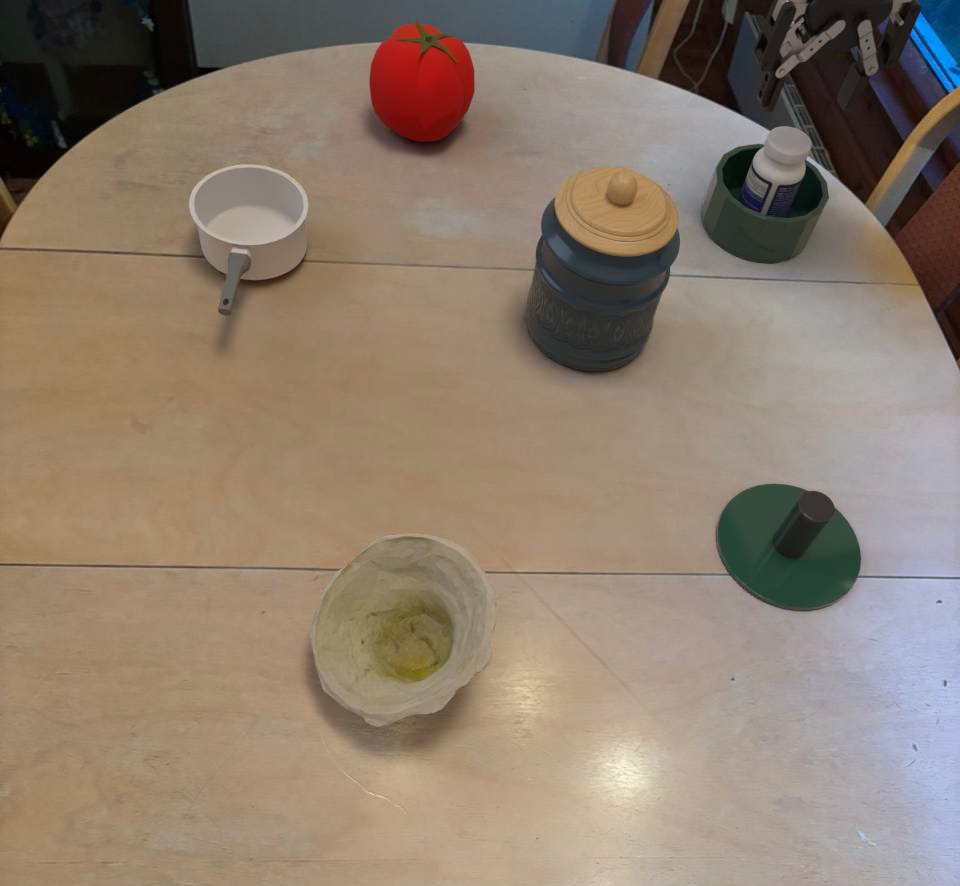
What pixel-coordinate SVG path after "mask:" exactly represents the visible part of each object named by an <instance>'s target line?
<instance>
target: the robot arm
mask: <svg viewBox="0 0 960 886" xmlns="http://www.w3.org/2000/svg"><path fill="white" fill-rule="evenodd" d="M921 11H922V6H921V5H920V2H919V0H772V3H771V5H770V7H769V11H768V12H767V15H766V17H765V20H764V22H763V24H762V26H761V28H760V29H761V30H760V31H759V34H758V36H757V39H756V41H755V44H754V46H753V49H752V55H753V56H754V59H755V61H756V62H757V64H758V65H757V66H759V69H760V70H761V72H764V73H763V76H762V79H761V80H760V84H759V86H758V90H757V92H756V98H757V100H758V102H759V105H760V106H761V109H762V111H763V113H765V114H767V113H773V112H774V110H775V108H776V106H777V103H778V100H779V98H780V95H781V93H782V90H783V87H784V85H785V83H786V81H787V77H786V75H787V74H788V73H790V72H791V71H792V69H794V68H795V67H796V66H797V65H798V64H800V63H805V62H807V61H808V60H810V58H812V57H813V55H815V54H816V53H817V52H819V53H829V52H831V51H834V50H836V51H839V52H843V53H844V52H845V53H846V52H850V51H851V49H853V48H854V52H855V55H856V59H857V61H855V62H852V63H851V65H850V67H849V69H848V71H847V73H846V75H845V77H844V80H843V82H842V84H841V87H840V89H839V91H838V93H837V96H836V101H837V103H838V105H839V107H840V109H841V110H842V111H851V110H852V109H853V107H854V105H857V103H858V102H859V101H860V100H861V97H862V95H863V94H864V92H865V89H866V88H867V85H868V83H869V81H870V79H871V77H872V76H873V75H875V74H876V73H877V72H878V71H879V70H880V69H884V68H886V69H887V70H891V69H894V68H895V67H896V66H897V65H898V64H899V61H900V59H901V56H902V54H903V52H904V50H905V47H906V45H907V43H908V40H909V38H910V36H911V34H912V31H913V29H914V27H915V25H916V22H917V20H918V18H919V15H921ZM800 16H802V17H801V18H800V19H799V20H798V21H797V19H798V18H799V17H800ZM887 19H888V21H887V23H886V25H885V27H884V31H883V33H882V35H881V37H880V40H879V42H878V45H877V46H876V42H875V38H874V31H875V30H876V29H877V28H878V27H879V26H880V25H881V24H883V22H884V21H885V20H887ZM796 21H797V22H796ZM806 34H807V38H808V40H807V41H806V42H805V43H803V41H802V38H803V37H804V35H806Z"/></svg>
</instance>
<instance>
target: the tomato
mask: <svg viewBox="0 0 960 886" xmlns="http://www.w3.org/2000/svg"><path fill="white" fill-rule="evenodd" d="M414 20H415V23H407V24H404V25H400V26H398V27H396V28H395V29H394V31H393V33H392V34H391V35H390V36H389V38H388V39H387V40H383V41H381V43H380V45H378V47H377V48H376V50H375V53H374V55H373V58H372V61H371V63H370V70H369V78H368V79H369V81H368V82H369V83H368V85H369V93H370V101H371V106H372V109H373V110H374V113H375V115H376V116H377V117H378V118H379V120H380V121H381V122H382V123H383V125H384V126H385V127H387V128H388V129H390V130H391V131H392V132H394V133H396V134H397V135H399V136H400V137H403V138H406V139H409V140H412V141H414V142H436V141H438V140H442V139H444V138H446V137H447V136H449V134H450V133H451V132H453V131H454V130H455V129H456V127H457V126H458V125H459V123H461V121H462V119H463V118H464V117H465V116H466V114H467V113H468V111H469V108H470V106H471V103H472V100H473V98H474V96H475V92H476V91H475V90H476V89H475V88H476V87H475V84H476V83H475V79H476V78H475V67H474V63H473V61H472V56H471V53H470V50H469V49H468V48H467V46H466V45H465V42H464V41H463V39H461V38H457V37H454V35H448V34H445V33H443V32H441V31H440V30H439V29H438V28H436V27H435V26H433V25H431V24H421V23H420V22H419V21H418V20H417V18H414Z"/></svg>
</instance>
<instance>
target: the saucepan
mask: <svg viewBox="0 0 960 886" xmlns="http://www.w3.org/2000/svg"><path fill="white" fill-rule="evenodd" d="M188 207H189V213H190V215H191V218H192V219H193V222H195V223H196V227H197V232H198V237H199V243H200V247H201V252H202V254H203V256H204V258H205V259H206V261H208V263H209V264H210V265H211V266H212V267H213V268H214V269H216V270H217V271H219V272H220V273H223V274H225V275H226V276H225V280H224V284H223V288H222V291H221V295H220V299H219V303H218V308H217V311H218V314H220V315H221V316H224V317H227V316H231V315H232V313H233V308H234V305H235V300H236V297H237V294H238V290H239V286H240V282H241V280H245V281H249V280H250V281H262V280H263V281H264V280H269V279H274V278H277V277H279V276H283V275H285V274H286V273H289V272H291V270H294V269H295V268H296V267H297V266H298V265H299V264H300V263H301V262H302V261H303V259H304V257H305V255H306V252H307V250H308V231H307V220H306V219H307V214H308V212H309V200H308V195H307V193H306V191H305V189H304V188H303V186H302V185H301V184H300V182H298V181H297V179H294V177H292V176H291V175H289V174H288V173H286V172H284V171H281V170H280V169H276V168H274V167H271V166H266V165H260V164H248V163H247V164H235V165H234V164H233V165H230V166H225V167H222V168H220V169H217V170H215V171H213V172H211V173H209V174H207V175H205V176H204V177H203V178H202V179H200V180H199V181H198V182H197V183H196V185H195V186H194V188H192V191H191V193H190V196H189V200H188Z"/></svg>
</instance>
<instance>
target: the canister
mask: <svg viewBox="0 0 960 886" xmlns="http://www.w3.org/2000/svg"><path fill="white" fill-rule="evenodd" d="M540 222H541V223H540V229H541V231H540V232H541V236H540V237H539V240H538V242H537V244H536V248H535V265H534V270H533V275H532V279H531V280H532V281H531V286H530V288H529V290H528V292H527V298H526V302H525V303H526V304H525V317H526V326H527V330H528V333H529V335H530V337H531V339H532V341H533V343H534V344H535V345H536V346H537V348H538V349H539V350H541V352H542V353H544V354H545V355H546V356H547V357H549V358H550V359H552V360H553V361H555V362H557V363H558V364H561V365H563V366H566V367H568V368H571V369H575V370H580V371H586V372H587V371H588V372H603V371H610V370H614V369H617V368H620V367H622V366H624V365H626V364H628V363H629V362H631V361H632V360H633V359H635V358H636V357H637V356H638V355H639V354H640V352H641V350H642V349H643V347H644V346H645V345H646V343H647V342H648V340H649V338H650V335H651V332H652V330H653V326H654V322H655V315H656V312H657V309H658V307H659V304H660V301H661V299H662V295H663V293H664V291H665V289H666V288H667V286H668V284H669V281H670V276H671V267H672V266H673V264H675V263H674V262H675V261H676V260H677V258H678V256H679V253H680V248H681V237H680V232H679V229H678V225H679V212H678V209H677V206H676V203H675V202H674V200H673V199H672V197H671V195H670V194H669V193H668V192H667V190H665V188H663V187H662V186H661V185H660V184H658V182H655V180H652V179H651V178H650V177H647V176H646V175H645V174H642V173H641V172H638V171H636V170H634V169H630V168H625V167H621V166H620V167H619V166H601V167H591V168H587V169H583V170H580V171H578V172H575V173H574V174H572V175H570V176H569V177H568V178H566V179H565V180H564V181H563V182H562V183H561V185H560V186H559V187H558V189H557V191H556V193H555V196H554V197H553V198H552V199H551V200H550V201H549V202H548V204H547V205H546V207H545V209H544V210H543V213H542V217H541V221H540Z"/></svg>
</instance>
